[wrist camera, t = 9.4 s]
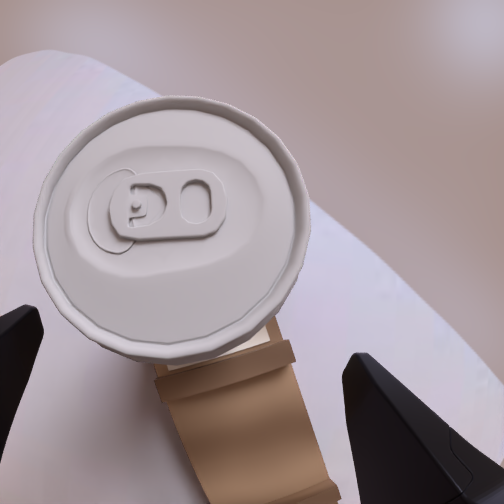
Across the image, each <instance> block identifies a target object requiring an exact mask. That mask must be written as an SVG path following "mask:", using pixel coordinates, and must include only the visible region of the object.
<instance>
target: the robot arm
mask: <svg viewBox="0 0 504 504" xmlns="http://www.w3.org/2000/svg"><path fill="white" fill-rule="evenodd" d="M43 335H44V329H43V325H42V322H41V318H40V315H39V311H38V309H37V308H36V307H34V306H31V305H26V304H25V305H22V306H20V307H18V308H16V309H15V310H13V311H11V312H9V313H7V314H5V315H3V316H1V317H0V462H1V458H2V454H3V451H4V448H5V444H6V441H7V438H8V435H9V431H10V428H11V425H12V422H13V420H14V417H15V414H16V411H17V408H18V406H19V403H20V400H21V398H22V395H23V393H24V390H25V388H26V385H27V383H28V380H29V377H30V374H31V372H32V368H33V365H34V362H35V359H36V356H37V353H38V350H39V347H40V344H41V341H42V339H43ZM342 384H343V394H344V404H345V415H346V424H347V430H348V435H349V440H350V445H351V450H352V456H353V461H354V466H355V472H356V478H357V483H358V489H359V495H360V502H361V504H504V469H503V468H502V467H501V466H499V465H498V464H497V463H495V462H494V461H493V460H491V459H490V458H488V457H487V456H486V455H484V454H483V453H482V452H480V451H479V450H478V449H476V448H475V447H474V446H472V445H471V444H470V443H469V442H468V441H466V440H465V439H464V438H463V437H462V436H460V435H459V434H458V433H457V432H456V431H455V430H454V429H453V428H451V427H449V425H448V424H447V423H446V422H445V421H443V420H442V419H441V418H440V417H439V416H438V415H437V414H436V413H435V412H433V411H432V410H431V409H430V408H429V407H428V406H427V405H426V404H424V403H423V402H422V401H421V400H420V399H419V398H418V397H417V396H415V395H414V394H413V393H412V392H411V391H410V390H409V389H408V388H406V387H405V386H404V385H403V384H402V383H401V382H400V381H399V380H397V379H396V378H395V377H394V376H393V375H392V374H391V373H390V372H388V371H387V370H386V369H385V368H384V367H383V366H382V365H381V364H380V363H378V362H377V361H376V360H375V359H374V358H373V357H372V356H371V355H369V354H368V353H354V354H353V355H352V356H351V358H350V360H349V362H348V364H347V366H346V367H345V369H344V371H343V374H342Z"/></svg>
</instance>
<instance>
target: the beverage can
mask: <svg viewBox="0 0 504 504" xmlns="http://www.w3.org/2000/svg"><path fill="white" fill-rule="evenodd" d="M310 232H311V222H310V203H309V194H308V191H307V188H306V186H305V183H304V180H303V177H302V174H301V171H300V169H299V166H298V164H297V162H296V161H295V160H294V158H293V156H292V155H291V153H290V152H289V151H288V149H287V148H286V146H285V145H284V144H283V142H282V141H281V139H280V138H279V137H278V136H277V135H275V134H274V133H273V132H272V131H271V130H270V129H269V128H267V127H266V126H265V125H264V124H263V123H261V122H260V121H259V120H258V119H257V118H255V117H253V116H251V115H249V114H247V113H245V112H243V111H242V110H240V109H238V108H236V107H234V106H231V105H230V104H226V103H223V102H218V101H215V100H211V99H207V98H202V97H195V96H163V97H157V98H152V99H146V100H141V101H137V102H134V103H131V104H129V105H126V106H124V107H121V108H119V109H117V110H114V111H112V112H109V113H107V114H106V115H104V116H103V117H101V118H100V119H98V120H97V121H95V122H94V123H92V124H91V125H90V126H88V127H87V128H85V129H84V130H82V131H81V132H80V133H79V134H78V135H77V136H76V137H75V138H74V139H73V141H72V142H71V143H70V144H69V145H68V146H67V147H66V148H65V149H64V150H63V151H62V152H61V153H60V155H59V156H58V158H57V160H56V161H55V163H54V165H53V166H52V168H51V170H50V171H49V173H48V175H47V177H46V178H45V180H44V182H43V185H42V188H41V191H40V195H39V198H38V201H37V205H36V208H35V212H34V222H33V250H34V255H35V259H36V263H37V267H38V271H39V275H40V279H41V282H42V284H43V286H44V288H45V289H46V291H47V293H48V294H49V296H50V298H51V299H52V301H53V303H54V304H55V306H56V308H57V309H58V311H59V312H60V314H61V315H62V316H63V317H65V318H66V319H67V320H68V321H69V322H70V323H71V324H72V325H73V326H75V327H76V328H77V329H78V330H79V331H80V332H81V333H82V334H84V335H85V336H86V337H87V338H88V339H90V340H92V341H94V342H96V343H98V344H99V345H100V346H101V347H103V348H105V349H108V350H110V351H112V352H115V353H117V354H119V355H122V356H124V357H127V358H129V359H132V360H134V361H137V362H145V363H154V364H164V365H175V366H177V365H182V364H188V363H193V362H198V361H203V360H208V359H212V358H216V357H218V356H220V355H222V354H224V353H226V352H227V351H229V350H231V349H233V348H235V347H237V346H239V345H241V344H243V343H245V342H247V341H248V340H250V339H251V338H252V337H253V336H254V335H255V334H256V333H257V332H259V331H260V330H261V329H262V328H263V327H264V326H265V325H266V324H267V323H268V322H269V321H270V320H271V319H272V318H273V317H274V316H275V315H276V314H277V313H278V312H279V310H280V309H281V307H282V305H283V303H284V302H285V300H286V298H287V297H288V295H289V293H290V292H291V290H292V288H293V286H294V285H295V283H296V281H297V278H298V274H299V272H300V270H301V268H302V266H303V262H304V258H305V254H306V250H307V245H308V241H309V237H310Z"/></svg>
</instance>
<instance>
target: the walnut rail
mask: <svg viewBox="0 0 504 504" xmlns="http://www.w3.org/2000/svg"><path fill="white" fill-rule="evenodd" d="M293 362H296V359H295V356H294V353H293V350H292V347H291V344H290V341H289V340H283V338H282V335H281V332H280V329H279V326H278V323H277V320H276V317H275V316H274V317H273V318H272V319H271V320H270V321H269V322H268V323H267V324H266V325H265V326H264V327H263V328H262V329H261V330H260V331H259V332H257V333H256V334H255V335H254V336H253V337H252V338H251V339H250V340H248V341H247V342H245V343H243V344H241V345H239V346H237V347H235V348H233V349H231V350H229V351H227V352H226V353H224V354H222V355H220V356H218V357H216V358H212V359H208V360H203V361H198V362H193V363H188V364H182V365H177V366H175V365H164V364H154V363H153V364H154V367H155V370H156V373H157V376H158V378H156V379H155V380H154V382H155V385H156V388H157V391H158V393H159V396H160V399H161V402H162V403H163V402H167V405H168V408H169V411H170V413H171V416H172V419H173V421H174V424H175V426H176V429H177V431H178V434H179V436H180V439H181V441H182V444H183V446H184V448H185V451H186V453H187V455H188V458H189V460H190V462H191V464H192V467H193V469H194V471H195V473H196V475H197V477H198V480H199V482H200V484H201V486H202V488H203V490H204V492H205V494H206V496H207V498H208V500H209V502H210V504H338V502H337V501H338V500H340V499H341V496H340V493H339V490H338V487H337V485H336V484H335V483H334V482H333V481H332V480H331V479H330V478H329V476H328V473H327V470H326V467H325V464H324V461H323V458H322V455H321V452H320V449H319V446H318V443H317V440H316V437H315V434H314V431H313V428H312V425H311V422H310V419H309V416H308V413H307V410H306V407H305V404H304V401H303V398H302V395H301V392H300V389H299V386H298V383H297V380H296V377H295V374H294V371H293V368H292V365H291V363H293Z"/></svg>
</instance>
